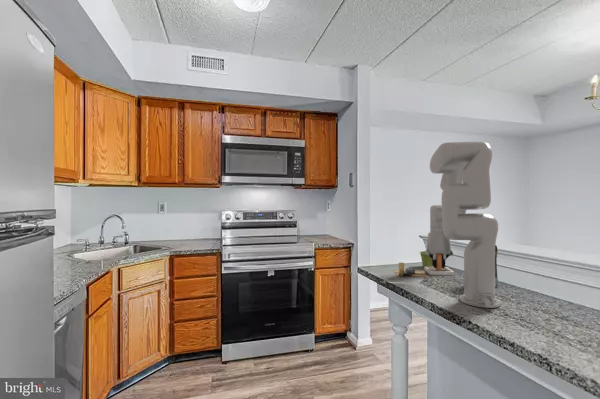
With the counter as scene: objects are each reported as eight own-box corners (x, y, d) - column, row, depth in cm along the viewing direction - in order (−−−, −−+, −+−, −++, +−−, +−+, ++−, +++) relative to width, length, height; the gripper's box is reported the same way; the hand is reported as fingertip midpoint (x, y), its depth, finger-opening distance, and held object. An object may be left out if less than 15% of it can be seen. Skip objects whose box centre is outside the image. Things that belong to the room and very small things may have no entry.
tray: (454, 277, 143) (454, 272, 143) (430, 276, 144) (430, 271, 144) (446, 271, 154) (446, 267, 154) (424, 271, 155) (424, 266, 155)
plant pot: (442, 269, 159) (442, 253, 159) (431, 271, 154) (431, 254, 154) (427, 266, 167) (427, 250, 167) (415, 268, 162) (415, 252, 162)
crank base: (429, 279, 139) (429, 273, 139) (397, 278, 141) (397, 272, 141) (421, 272, 153) (421, 266, 153) (393, 271, 155) (392, 265, 155)
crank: (408, 271, 150) (408, 259, 150) (416, 272, 146) (416, 260, 146) (395, 275, 142) (395, 262, 142) (404, 276, 139) (404, 264, 139)
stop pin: (443, 270, 147) (442, 254, 147) (436, 270, 148) (436, 253, 148) (441, 269, 150) (440, 252, 150) (434, 268, 151) (434, 252, 151)
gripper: (453, 229, 152) (453, 266, 152) (419, 229, 154) (419, 265, 154) (459, 231, 144) (459, 269, 144) (423, 230, 147) (423, 268, 147)
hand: (438, 267), depth 149 cm, fingers closed on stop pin, 3 cm apart
